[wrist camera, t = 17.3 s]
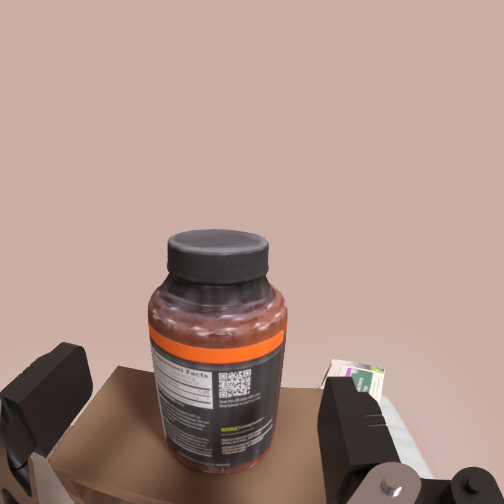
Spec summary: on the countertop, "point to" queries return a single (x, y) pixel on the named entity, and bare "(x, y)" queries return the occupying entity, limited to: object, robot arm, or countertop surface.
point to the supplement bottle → (218, 350)
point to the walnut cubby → (168, 466)
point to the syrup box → (358, 376)
